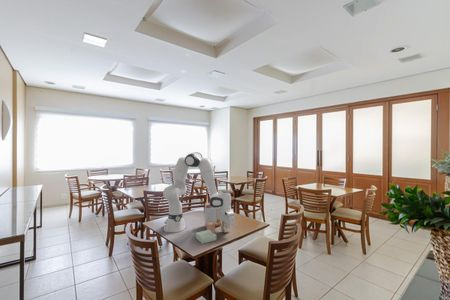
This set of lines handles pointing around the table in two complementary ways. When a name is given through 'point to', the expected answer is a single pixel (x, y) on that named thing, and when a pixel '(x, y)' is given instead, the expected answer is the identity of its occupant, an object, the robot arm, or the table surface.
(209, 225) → the terracotta block
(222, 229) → the beech block
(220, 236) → the table surface
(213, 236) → the sage pedestal block
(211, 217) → the cracker box
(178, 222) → the robot arm
